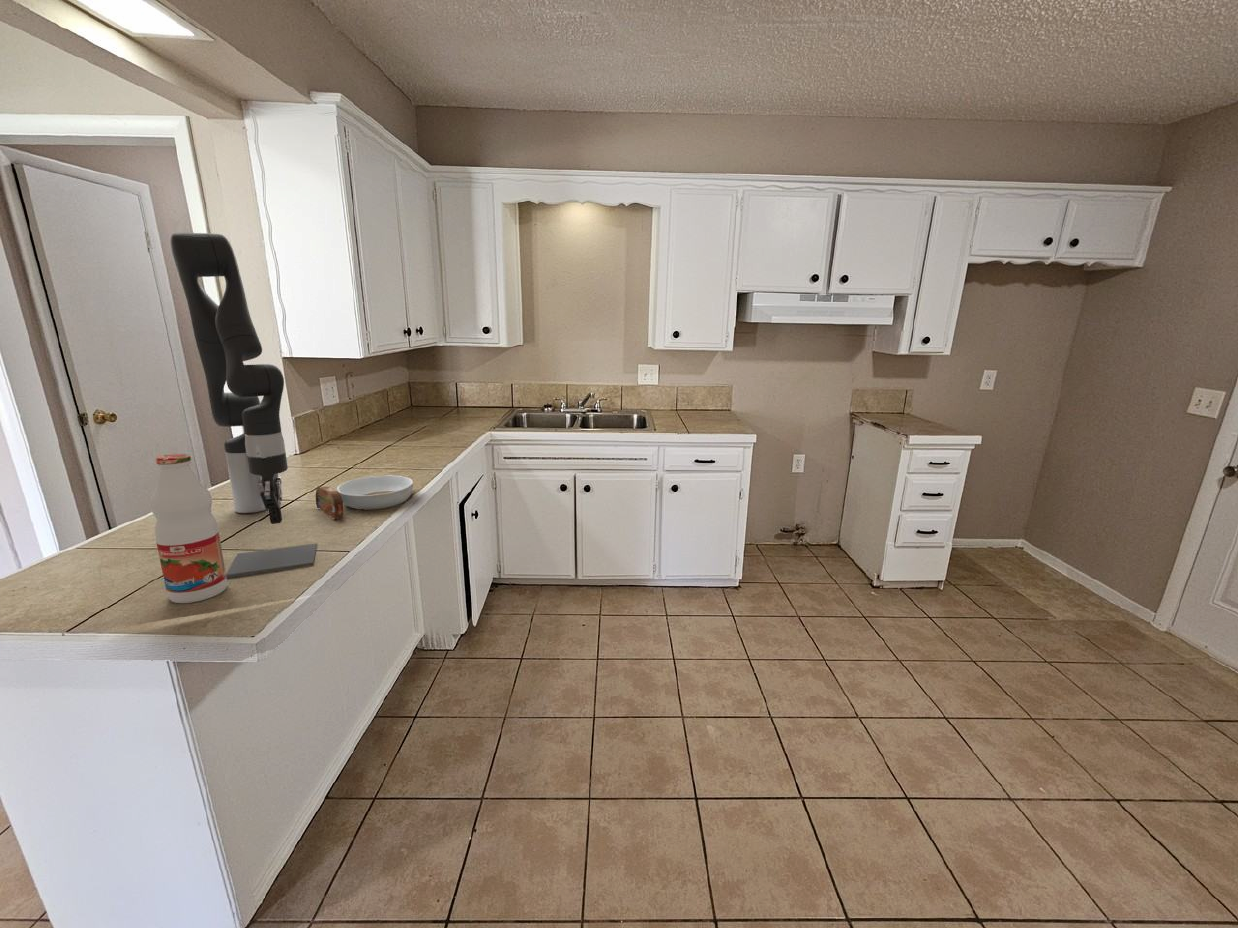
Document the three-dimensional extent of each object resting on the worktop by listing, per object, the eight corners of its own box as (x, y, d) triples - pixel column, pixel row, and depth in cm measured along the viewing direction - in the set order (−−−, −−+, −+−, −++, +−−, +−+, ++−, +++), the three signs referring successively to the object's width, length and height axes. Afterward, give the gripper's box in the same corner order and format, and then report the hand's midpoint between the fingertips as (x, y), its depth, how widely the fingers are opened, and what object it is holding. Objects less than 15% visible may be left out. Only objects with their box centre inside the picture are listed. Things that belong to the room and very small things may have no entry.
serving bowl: (322, 513, 150) (319, 490, 149) (373, 493, 170) (371, 472, 168) (383, 521, 145) (381, 497, 143) (428, 499, 165) (427, 478, 163)
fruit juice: (237, 580, 109) (215, 450, 102) (212, 602, 100) (186, 461, 93) (186, 583, 107) (160, 451, 100) (156, 606, 98) (125, 462, 91)
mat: (238, 556, 120) (237, 553, 120) (317, 546, 127) (317, 543, 127) (226, 578, 110) (225, 574, 109) (313, 565, 116) (313, 562, 116)
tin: (316, 512, 151) (312, 484, 149) (328, 510, 153) (324, 482, 151) (335, 525, 141) (331, 496, 139) (347, 523, 143) (344, 493, 141)
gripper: (252, 447, 125) (262, 515, 129) (240, 459, 113) (252, 534, 117) (288, 445, 128) (297, 512, 132) (281, 457, 116) (291, 529, 120)
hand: (276, 522), depth 125 cm, fingers closed
